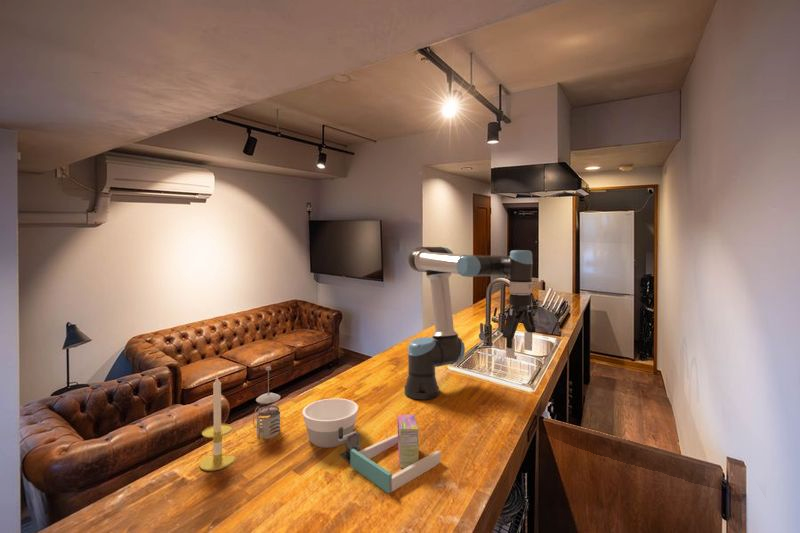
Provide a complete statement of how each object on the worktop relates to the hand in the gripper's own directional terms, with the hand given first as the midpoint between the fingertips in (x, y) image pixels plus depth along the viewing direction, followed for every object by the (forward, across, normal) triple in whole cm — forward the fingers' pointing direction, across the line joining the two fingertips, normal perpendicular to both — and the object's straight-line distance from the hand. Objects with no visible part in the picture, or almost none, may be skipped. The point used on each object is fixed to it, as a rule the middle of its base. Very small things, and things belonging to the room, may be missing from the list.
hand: (519, 353), depth 127 cm
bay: (+29, -44, +18) cm, 56 cm away
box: (+30, -39, +18) cm, 52 cm away
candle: (+30, -82, +58) cm, 105 cm away
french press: (+30, -64, +62) cm, 94 cm away
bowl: (+30, -49, +45) cm, 73 cm away
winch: (+29, -50, +30) cm, 66 cm away
